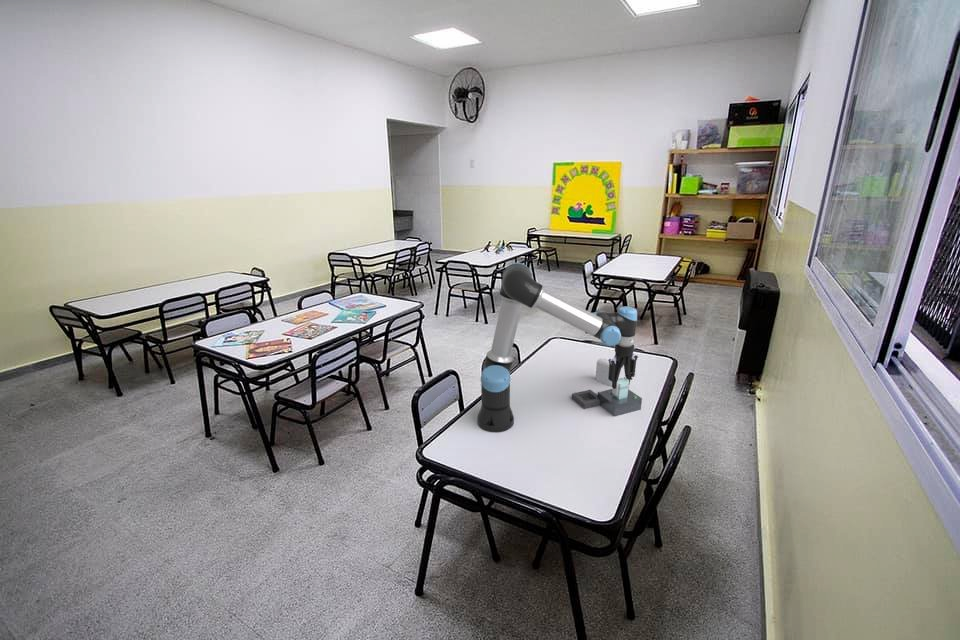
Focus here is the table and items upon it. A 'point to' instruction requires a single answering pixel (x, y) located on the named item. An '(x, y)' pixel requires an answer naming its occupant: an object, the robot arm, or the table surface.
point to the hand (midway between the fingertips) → (619, 393)
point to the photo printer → (603, 371)
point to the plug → (622, 389)
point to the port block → (619, 403)
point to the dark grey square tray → (586, 399)
